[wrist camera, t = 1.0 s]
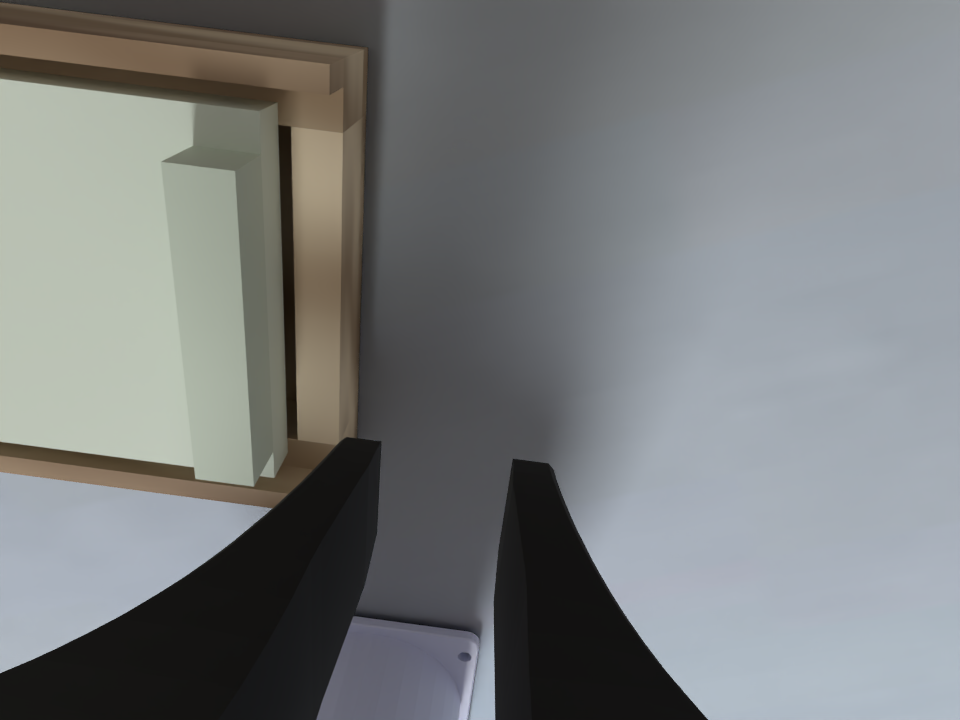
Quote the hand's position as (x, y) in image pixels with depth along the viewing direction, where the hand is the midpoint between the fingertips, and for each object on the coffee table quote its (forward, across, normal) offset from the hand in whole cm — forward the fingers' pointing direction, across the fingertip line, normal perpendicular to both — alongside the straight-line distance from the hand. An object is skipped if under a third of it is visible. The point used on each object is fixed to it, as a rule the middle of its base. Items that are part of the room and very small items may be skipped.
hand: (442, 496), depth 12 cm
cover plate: (+7, +10, 0) cm, 13 cm away
